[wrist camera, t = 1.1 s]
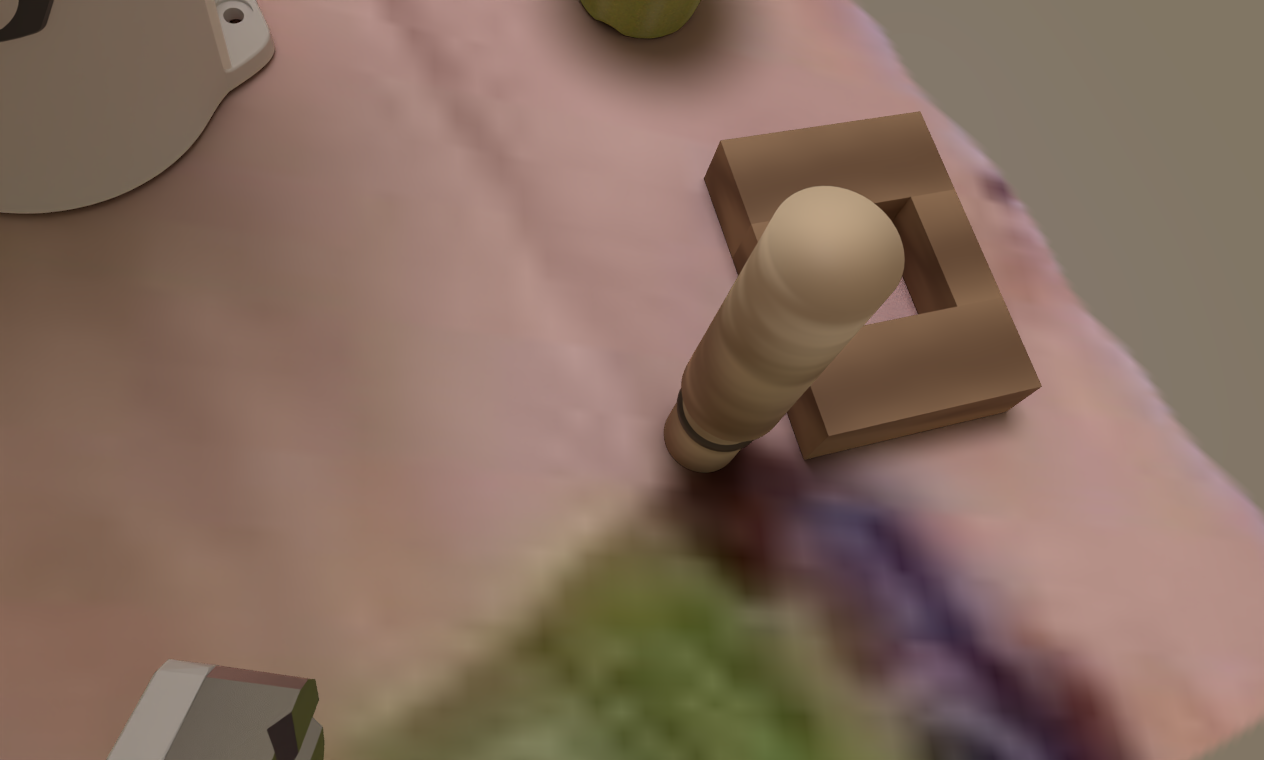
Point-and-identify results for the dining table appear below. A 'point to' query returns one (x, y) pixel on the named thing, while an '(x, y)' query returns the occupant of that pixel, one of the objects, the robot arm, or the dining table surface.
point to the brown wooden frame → (933, 271)
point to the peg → (783, 321)
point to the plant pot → (642, 15)
